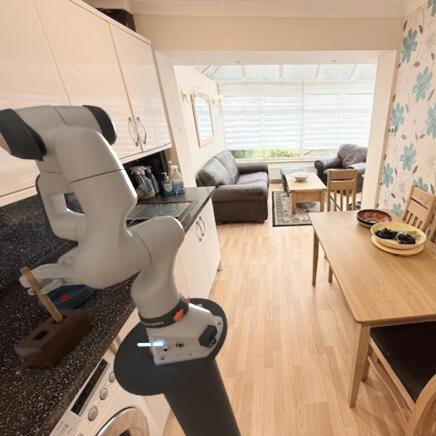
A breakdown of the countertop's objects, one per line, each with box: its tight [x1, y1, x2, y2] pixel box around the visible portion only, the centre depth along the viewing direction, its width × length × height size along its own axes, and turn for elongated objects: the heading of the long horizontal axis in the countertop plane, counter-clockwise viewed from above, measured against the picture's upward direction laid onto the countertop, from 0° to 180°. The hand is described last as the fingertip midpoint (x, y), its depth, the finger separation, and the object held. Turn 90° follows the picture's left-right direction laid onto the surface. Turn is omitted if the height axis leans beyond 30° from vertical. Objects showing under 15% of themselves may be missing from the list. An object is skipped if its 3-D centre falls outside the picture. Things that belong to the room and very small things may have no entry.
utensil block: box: [13, 308, 94, 368], centre depth 72 cm, size 8×14×8 cm, turn 176°
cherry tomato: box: [61, 295, 71, 301], centre depth 89 cm, size 3×3×3 cm
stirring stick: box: [19, 266, 63, 323], centre depth 69 cm, size 2×2×20 cm
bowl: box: [38, 284, 96, 315], centre depth 91 cm, size 15×15×5 cm
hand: (36, 293), depth 67 cm, fingers closed on stirring stick, 1 cm apart
